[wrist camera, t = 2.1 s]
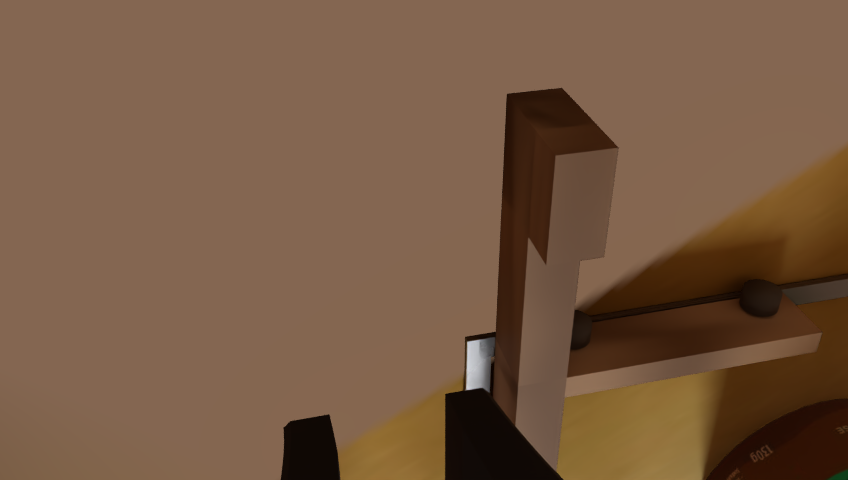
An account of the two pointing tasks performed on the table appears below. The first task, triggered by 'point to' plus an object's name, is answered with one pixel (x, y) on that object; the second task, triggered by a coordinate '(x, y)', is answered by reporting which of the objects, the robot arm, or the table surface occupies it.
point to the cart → (558, 276)
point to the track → (799, 293)
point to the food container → (793, 447)
